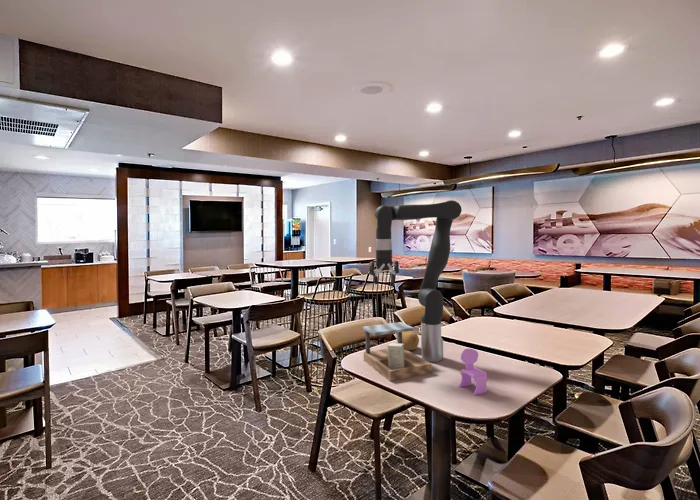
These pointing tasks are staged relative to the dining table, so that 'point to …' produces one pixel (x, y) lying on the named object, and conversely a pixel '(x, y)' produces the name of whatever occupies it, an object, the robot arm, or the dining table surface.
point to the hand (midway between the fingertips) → (384, 283)
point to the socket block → (380, 357)
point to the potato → (409, 340)
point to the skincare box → (395, 356)
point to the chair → (472, 372)
